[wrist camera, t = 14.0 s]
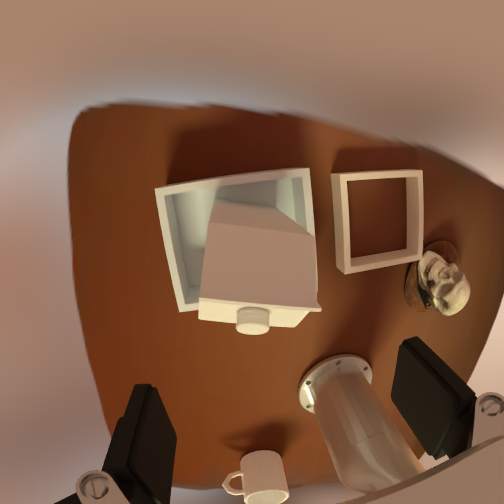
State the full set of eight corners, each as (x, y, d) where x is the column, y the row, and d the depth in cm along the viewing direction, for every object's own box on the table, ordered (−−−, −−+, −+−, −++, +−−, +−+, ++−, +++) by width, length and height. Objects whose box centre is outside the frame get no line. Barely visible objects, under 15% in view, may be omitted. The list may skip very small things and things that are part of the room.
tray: (410, 253, 39) (422, 259, 36) (336, 266, 38) (344, 274, 35) (409, 169, 36) (422, 170, 33) (330, 173, 35) (339, 174, 32)
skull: (389, 279, 39) (456, 265, 31) (403, 237, 45) (458, 220, 37) (416, 333, 42) (474, 325, 34) (427, 288, 48) (477, 278, 40)
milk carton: (214, 197, 33) (205, 236, 15) (276, 206, 34) (335, 252, 16) (206, 258, 35) (194, 351, 17) (266, 265, 36) (307, 359, 18)
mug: (225, 446, 47) (227, 488, 37) (286, 450, 49) (295, 489, 39) (217, 466, 48) (218, 505, 39) (273, 470, 50) (280, 506, 41)
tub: (304, 272, 38) (317, 291, 32) (185, 290, 37) (179, 312, 31) (294, 167, 34) (309, 167, 29) (165, 185, 33) (154, 189, 28)
